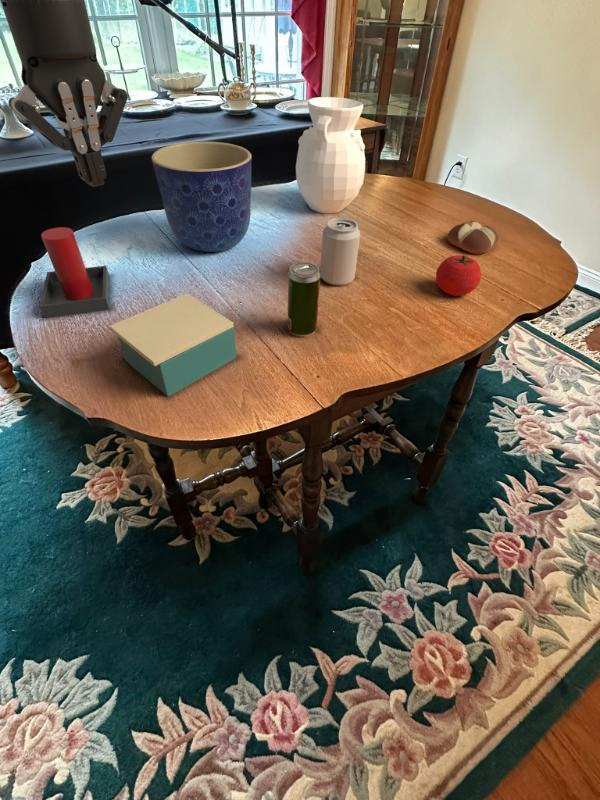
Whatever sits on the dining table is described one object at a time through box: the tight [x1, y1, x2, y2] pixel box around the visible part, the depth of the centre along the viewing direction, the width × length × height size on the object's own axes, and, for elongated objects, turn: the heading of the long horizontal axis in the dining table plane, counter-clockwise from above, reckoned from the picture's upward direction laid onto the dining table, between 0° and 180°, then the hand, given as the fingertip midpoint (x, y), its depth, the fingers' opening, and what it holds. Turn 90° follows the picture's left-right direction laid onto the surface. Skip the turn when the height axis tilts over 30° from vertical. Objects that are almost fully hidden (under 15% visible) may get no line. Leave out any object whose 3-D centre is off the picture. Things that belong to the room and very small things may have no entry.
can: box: [319, 217, 361, 287], centre depth 89 cm, size 8×8×12 cm
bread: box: [446, 220, 499, 255], centre depth 106 cm, size 11×11×5 cm
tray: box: [39, 265, 111, 319], centre depth 84 cm, size 11×13×3 cm
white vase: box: [295, 96, 366, 214], centre depth 113 cm, size 19×18×25 cm
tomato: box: [435, 254, 482, 297], centre depth 88 cm, size 9×9×8 cm
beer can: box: [286, 261, 321, 338], centre depth 75 cm, size 5×5×12 cm
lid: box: [108, 293, 235, 366], centre depth 67 cm, size 14×12×1 cm
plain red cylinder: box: [40, 226, 93, 300], centre depth 80 cm, size 5×5×12 cm
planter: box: [151, 141, 253, 253], centre depth 97 cm, size 21×21×19 cm
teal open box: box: [117, 327, 237, 397], centre depth 70 cm, size 14×12×6 cm
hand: (95, 184), depth 54 cm, fingers closed
